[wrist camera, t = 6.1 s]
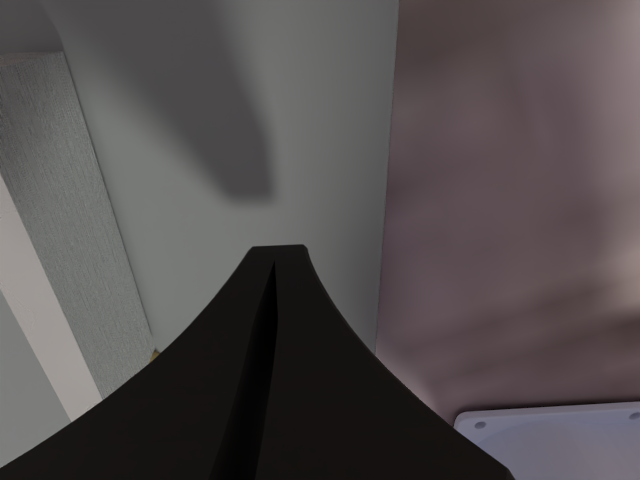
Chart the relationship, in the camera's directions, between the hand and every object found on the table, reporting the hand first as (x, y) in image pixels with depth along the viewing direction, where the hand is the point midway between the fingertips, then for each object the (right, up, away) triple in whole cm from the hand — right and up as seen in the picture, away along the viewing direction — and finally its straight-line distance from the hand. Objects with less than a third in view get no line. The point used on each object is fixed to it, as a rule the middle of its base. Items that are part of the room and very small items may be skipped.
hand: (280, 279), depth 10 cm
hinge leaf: (-5, +1, +2) cm, 5 cm away
